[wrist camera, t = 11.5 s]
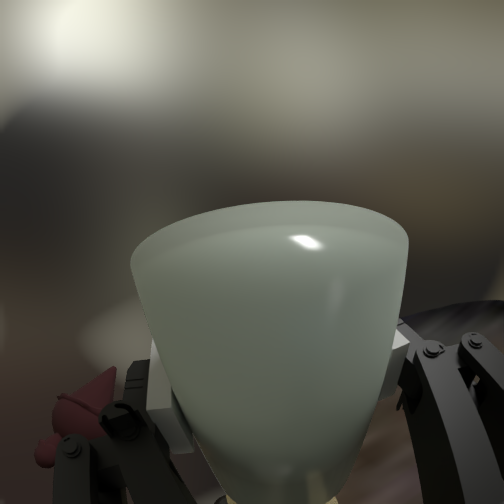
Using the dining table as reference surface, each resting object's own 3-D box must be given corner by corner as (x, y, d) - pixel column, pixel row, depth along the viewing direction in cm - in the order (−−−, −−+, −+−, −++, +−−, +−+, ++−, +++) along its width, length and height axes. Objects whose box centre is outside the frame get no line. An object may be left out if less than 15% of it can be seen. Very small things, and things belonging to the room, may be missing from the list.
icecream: (76, 346, 27) (11, 446, 14) (118, 341, 25) (45, 468, 12) (111, 386, 29) (62, 483, 16) (155, 386, 27) (107, 504, 14)
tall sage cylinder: (323, 396, 16) (328, 193, 11) (373, 487, 9) (469, 253, 5) (208, 424, 14) (149, 220, 10) (228, 529, 8) (96, 337, 4)
